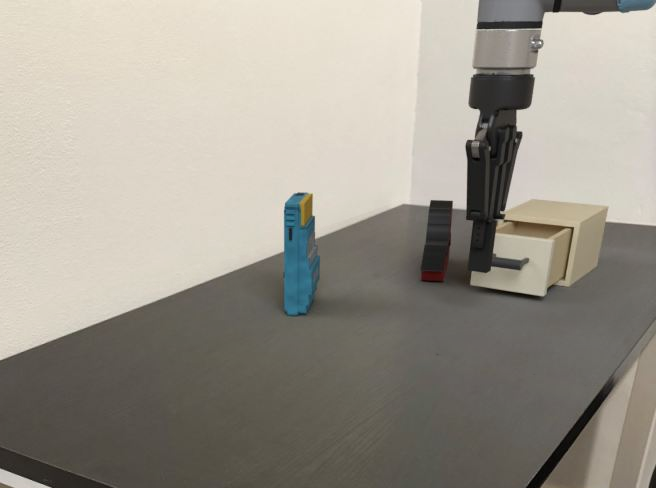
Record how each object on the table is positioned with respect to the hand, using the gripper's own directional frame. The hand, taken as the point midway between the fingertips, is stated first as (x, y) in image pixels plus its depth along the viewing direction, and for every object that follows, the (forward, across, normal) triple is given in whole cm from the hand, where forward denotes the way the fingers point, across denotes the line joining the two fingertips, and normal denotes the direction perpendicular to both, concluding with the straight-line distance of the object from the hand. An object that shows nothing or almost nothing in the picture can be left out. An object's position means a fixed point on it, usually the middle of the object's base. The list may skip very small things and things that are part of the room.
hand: (479, 270), depth 107 cm
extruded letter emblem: (+7, +19, +15) cm, 25 cm away
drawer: (+6, +16, 0) cm, 17 cm away
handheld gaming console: (+7, -9, +23) cm, 26 cm away
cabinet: (+6, +29, 0) cm, 30 cm away
